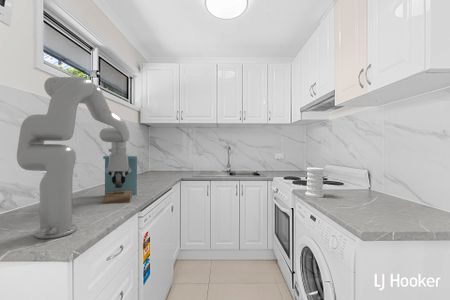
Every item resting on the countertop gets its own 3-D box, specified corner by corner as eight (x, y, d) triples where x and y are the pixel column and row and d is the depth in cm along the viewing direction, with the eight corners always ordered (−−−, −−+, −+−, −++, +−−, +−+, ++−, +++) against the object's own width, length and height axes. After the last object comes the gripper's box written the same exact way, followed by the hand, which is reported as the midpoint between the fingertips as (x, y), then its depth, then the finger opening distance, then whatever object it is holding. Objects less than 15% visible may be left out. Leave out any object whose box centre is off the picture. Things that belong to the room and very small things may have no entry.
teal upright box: (136, 196, 142) (136, 156, 141) (103, 198, 136) (103, 156, 136) (136, 194, 149) (137, 155, 148) (105, 195, 143) (105, 155, 143)
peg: (122, 187, 131) (122, 170, 131) (114, 188, 130) (114, 170, 130) (122, 186, 135) (123, 169, 135) (115, 186, 134) (115, 169, 134)
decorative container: (315, 198, 148) (316, 169, 148) (301, 194, 158) (302, 167, 158) (327, 196, 154) (328, 169, 153) (313, 192, 164) (314, 167, 163)
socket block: (129, 202, 128) (129, 195, 128) (103, 203, 125) (103, 196, 124) (131, 197, 141) (131, 190, 141) (107, 198, 137) (107, 191, 137)
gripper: (101, 151, 126) (100, 185, 126) (134, 151, 131) (134, 184, 132) (103, 150, 133) (103, 182, 134) (135, 151, 138) (134, 182, 139)
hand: (118, 183), depth 133 cm, fingers closed on peg, 4 cm apart
